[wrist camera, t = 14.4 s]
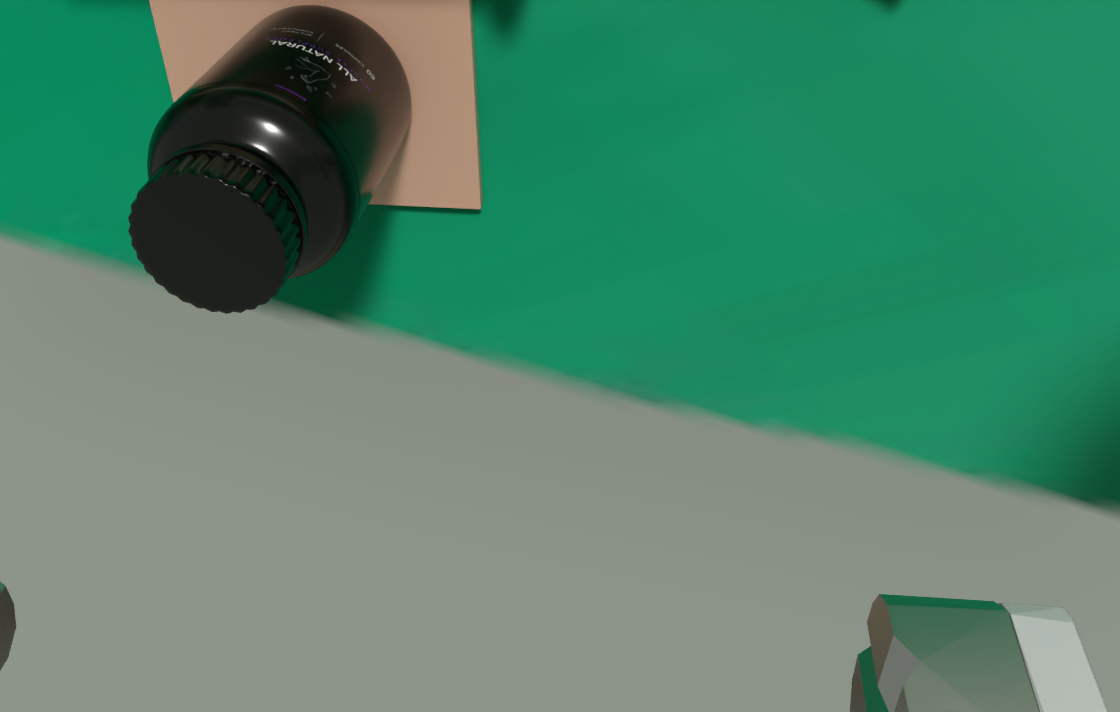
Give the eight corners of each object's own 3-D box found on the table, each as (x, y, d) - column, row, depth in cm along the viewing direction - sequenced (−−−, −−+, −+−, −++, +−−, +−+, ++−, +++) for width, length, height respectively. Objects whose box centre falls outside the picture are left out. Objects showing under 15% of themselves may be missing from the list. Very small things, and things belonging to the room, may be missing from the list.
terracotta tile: (469, -49, 36) (466, -44, 36) (482, 203, 42) (480, 209, 42) (142, -57, 37) (136, -53, 37) (200, 190, 43) (196, 196, 43)
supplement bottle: (385, -17, 37) (279, 124, 27) (435, 156, 41) (358, 332, 31) (210, 14, 38) (50, 158, 28) (275, 179, 42) (153, 354, 32)
